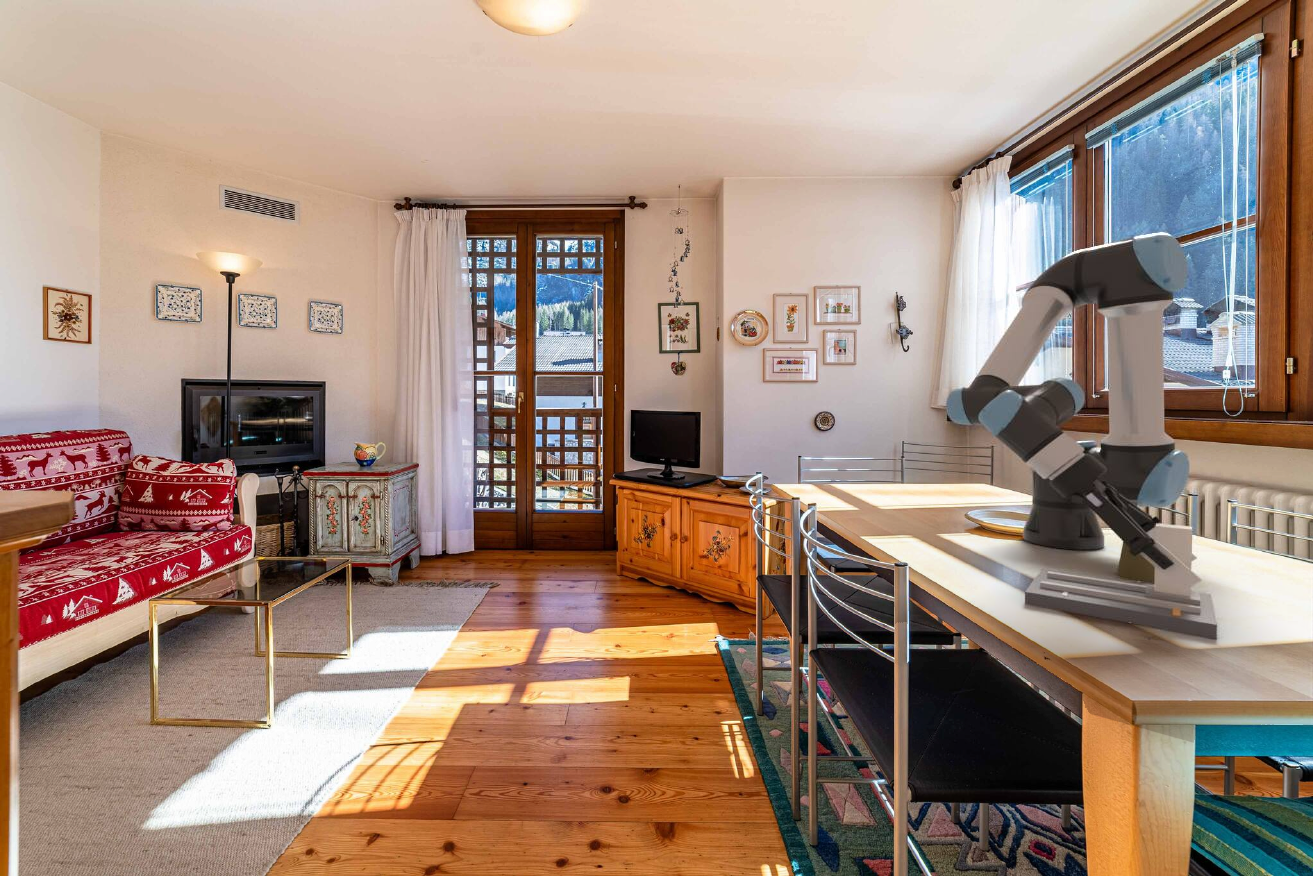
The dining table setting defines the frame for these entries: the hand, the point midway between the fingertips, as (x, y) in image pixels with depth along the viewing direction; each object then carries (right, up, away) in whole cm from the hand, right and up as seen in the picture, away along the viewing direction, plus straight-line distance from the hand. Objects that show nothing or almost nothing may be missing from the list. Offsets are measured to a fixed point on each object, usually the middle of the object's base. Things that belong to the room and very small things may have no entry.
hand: (1190, 573), depth 83 cm
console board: (-6, -7, +6) cm, 11 cm away
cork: (+9, -6, +19) cm, 22 cm away
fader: (-1, -4, +2) cm, 5 cm away
